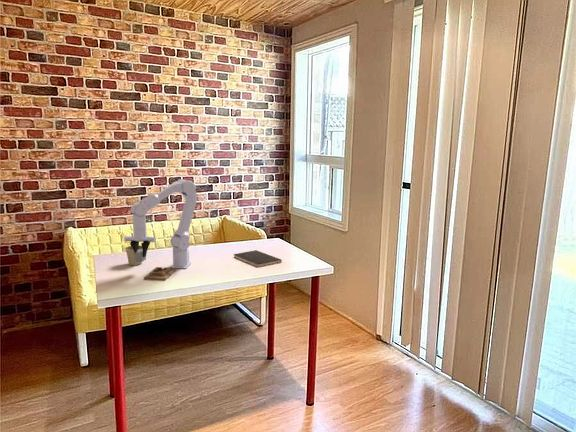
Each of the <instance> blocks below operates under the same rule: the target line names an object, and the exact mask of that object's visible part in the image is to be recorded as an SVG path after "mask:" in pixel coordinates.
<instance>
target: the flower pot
mask: <svg viewBox="0 0 576 432" xmlns="http://www.w3.org/2000/svg"><path fill="white" fill-rule="evenodd" d="M139 250H143V249H142V245H139ZM124 251H125V252H126V256H127V262H128V265H130V266H139V265H142V263H143V262H136V259H135V253H134V250H133V248H132V247H131V245H129V246H126V247H124Z"/></svg>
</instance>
